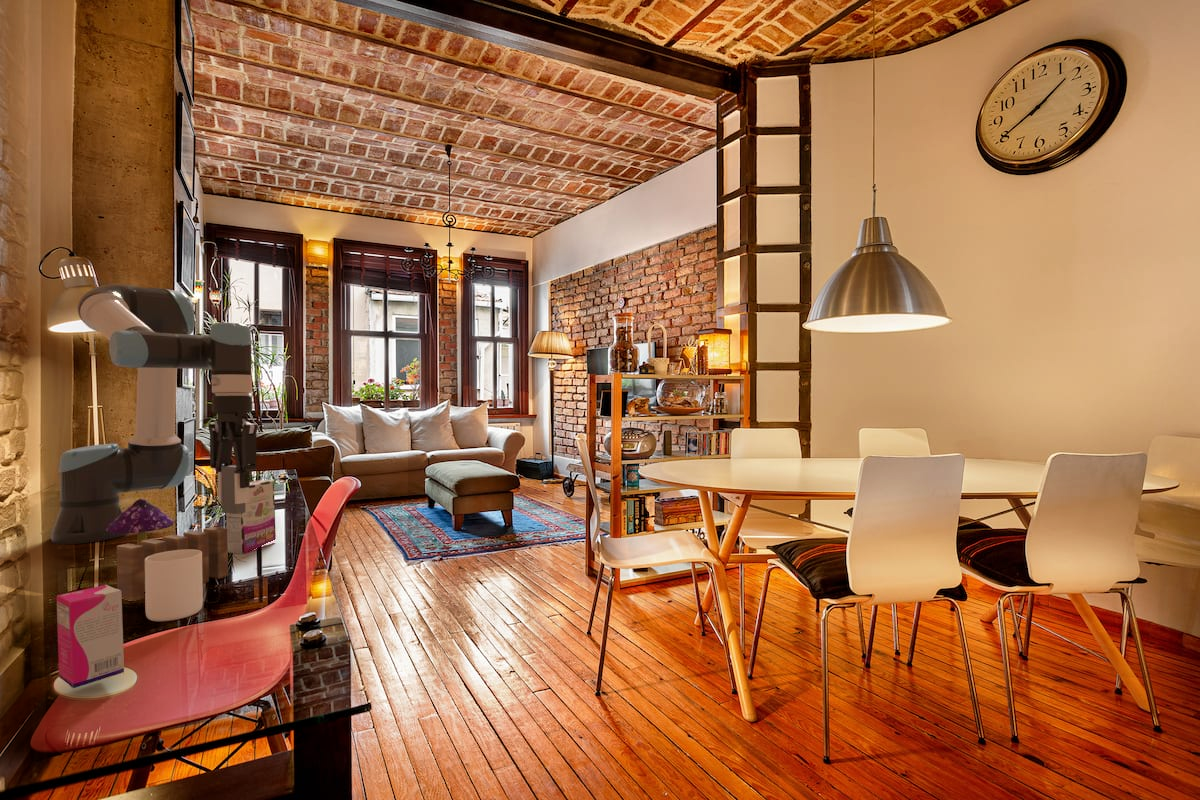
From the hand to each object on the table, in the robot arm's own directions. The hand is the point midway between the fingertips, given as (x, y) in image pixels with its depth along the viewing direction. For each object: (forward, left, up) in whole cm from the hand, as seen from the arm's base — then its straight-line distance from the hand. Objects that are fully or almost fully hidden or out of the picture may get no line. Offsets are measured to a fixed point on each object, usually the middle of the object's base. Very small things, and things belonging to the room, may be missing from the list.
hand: (233, 501), depth 134 cm
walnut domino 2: (0, -16, -15) cm, 22 cm away
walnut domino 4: (0, -8, -15) cm, 17 cm away
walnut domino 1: (0, -20, -15) cm, 25 cm away
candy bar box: (-15, +14, -15) cm, 26 cm away
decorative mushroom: (-24, -6, -15) cm, 29 cm away
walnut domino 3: (0, -12, -15) cm, 19 cm away
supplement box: (+31, -40, -15) cm, 53 cm away
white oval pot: (+14, -20, -15) cm, 29 cm away
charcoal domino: (0, 0, -2) cm, 2 cm away
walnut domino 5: (0, -4, -15) cm, 16 cm away
